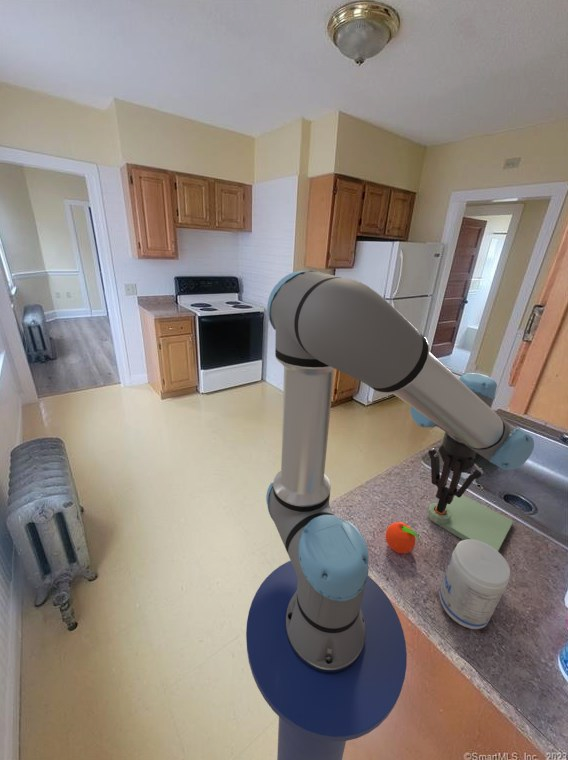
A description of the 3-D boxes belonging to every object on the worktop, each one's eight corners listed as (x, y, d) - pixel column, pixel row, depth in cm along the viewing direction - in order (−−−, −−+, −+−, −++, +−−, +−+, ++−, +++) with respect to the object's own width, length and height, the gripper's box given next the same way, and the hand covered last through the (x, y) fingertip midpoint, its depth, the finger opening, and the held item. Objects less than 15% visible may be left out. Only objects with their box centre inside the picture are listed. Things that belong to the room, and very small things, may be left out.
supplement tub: (434, 579, 73) (449, 532, 67) (480, 589, 71) (500, 542, 65) (443, 625, 64) (462, 576, 58) (496, 638, 62) (520, 589, 56)
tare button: (432, 514, 88) (433, 509, 87) (436, 509, 89) (437, 504, 89) (441, 520, 86) (443, 515, 85) (445, 515, 88) (447, 510, 87)
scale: (423, 519, 89) (425, 509, 87) (447, 491, 99) (449, 482, 97) (492, 562, 77) (497, 552, 76) (511, 525, 87) (515, 515, 86)
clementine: (419, 545, 81) (424, 524, 78) (414, 567, 76) (420, 545, 73) (387, 531, 85) (391, 511, 82) (380, 551, 79) (385, 530, 76)
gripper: (497, 441, 75) (471, 516, 85) (441, 420, 84) (424, 489, 94) (487, 454, 71) (460, 531, 80) (429, 430, 79) (411, 502, 89)
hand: (441, 509), depth 87 cm, fingers closed
